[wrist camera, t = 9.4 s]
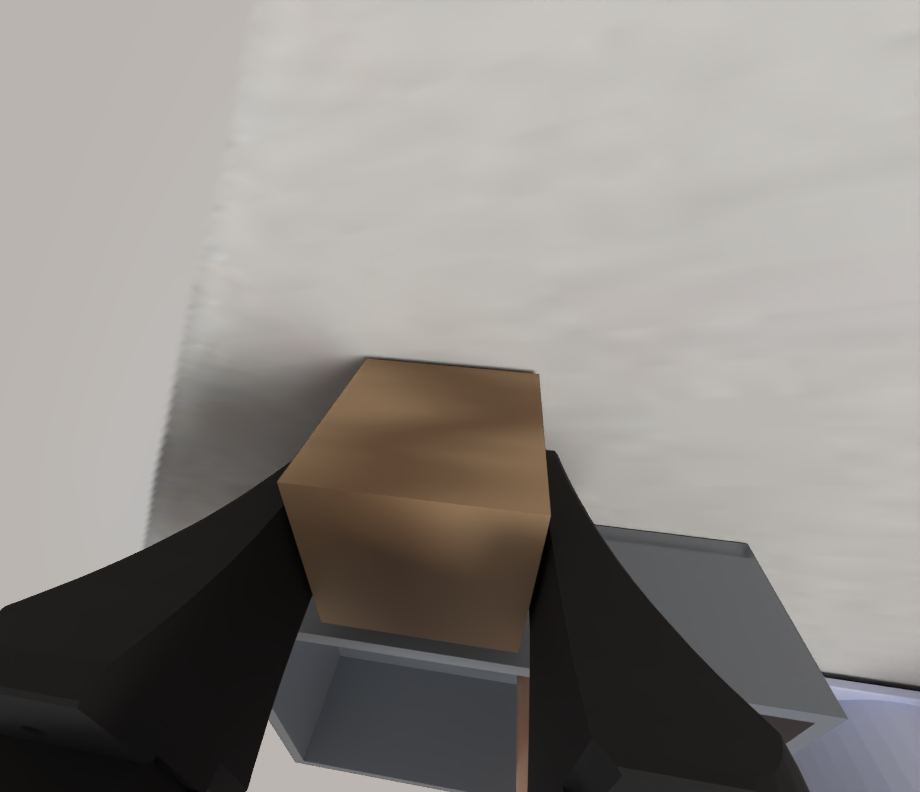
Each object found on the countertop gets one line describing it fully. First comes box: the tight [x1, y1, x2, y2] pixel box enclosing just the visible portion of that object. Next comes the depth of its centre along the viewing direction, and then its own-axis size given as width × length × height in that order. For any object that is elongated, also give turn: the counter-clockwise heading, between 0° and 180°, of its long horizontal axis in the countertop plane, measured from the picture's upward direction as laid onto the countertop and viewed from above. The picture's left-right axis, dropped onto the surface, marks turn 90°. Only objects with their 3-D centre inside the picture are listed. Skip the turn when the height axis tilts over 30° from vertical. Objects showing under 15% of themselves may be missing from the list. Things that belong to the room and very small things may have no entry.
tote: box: [268, 525, 848, 792], centre depth 16 cm, size 17×13×5 cm
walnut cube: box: [277, 359, 551, 653], centre depth 10 cm, size 5×5×5 cm
